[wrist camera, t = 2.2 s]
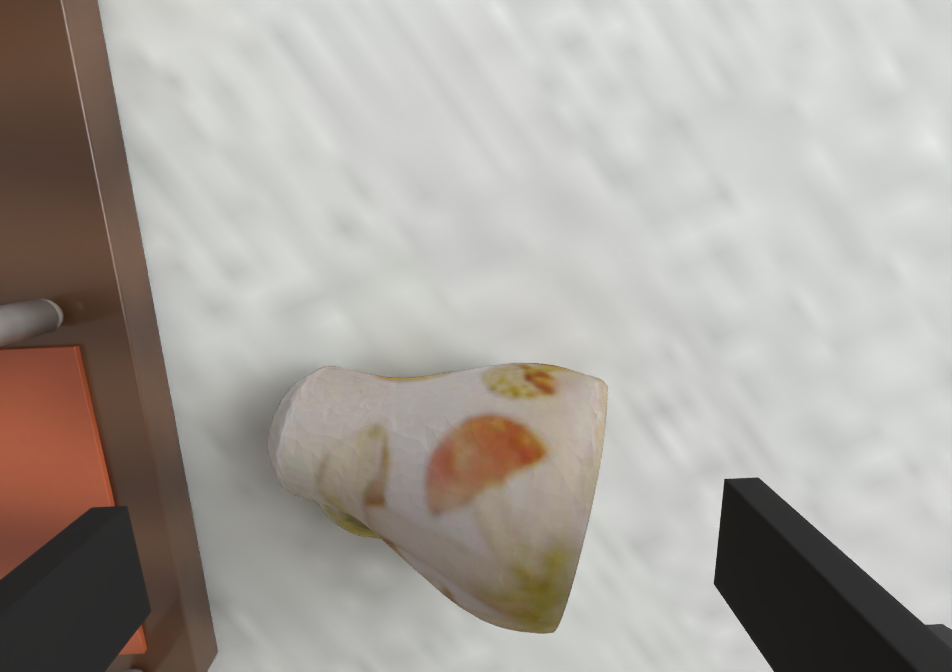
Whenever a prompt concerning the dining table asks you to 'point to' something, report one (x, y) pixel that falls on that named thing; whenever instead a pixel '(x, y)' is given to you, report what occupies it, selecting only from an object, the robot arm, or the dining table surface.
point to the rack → (85, 332)
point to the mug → (456, 475)
